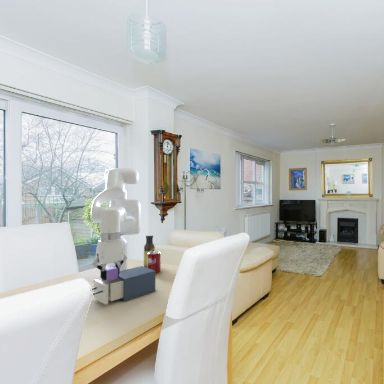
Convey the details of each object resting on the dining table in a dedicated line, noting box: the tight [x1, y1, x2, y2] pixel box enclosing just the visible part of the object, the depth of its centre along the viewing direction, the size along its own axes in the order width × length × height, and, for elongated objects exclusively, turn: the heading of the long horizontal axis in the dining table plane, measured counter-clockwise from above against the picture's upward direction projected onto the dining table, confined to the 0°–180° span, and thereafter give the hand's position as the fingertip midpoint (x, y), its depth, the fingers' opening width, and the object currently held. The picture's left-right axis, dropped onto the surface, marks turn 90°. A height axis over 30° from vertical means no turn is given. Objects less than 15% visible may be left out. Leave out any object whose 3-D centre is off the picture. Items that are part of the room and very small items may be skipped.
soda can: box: [147, 250, 162, 276], centre depth 149 cm, size 7×7×12 cm
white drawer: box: [91, 278, 124, 306], centre depth 113 cm, size 19×11×8 cm, turn 142°
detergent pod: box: [105, 266, 118, 281], centre depth 113 cm, size 4×4×4 cm
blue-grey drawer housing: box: [118, 265, 156, 302], centre depth 122 cm, size 15×13×10 cm
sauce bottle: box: [143, 234, 156, 268], centre depth 160 cm, size 6×6×20 cm
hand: (110, 277), depth 113 cm, fingers closed on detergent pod, 4 cm apart
